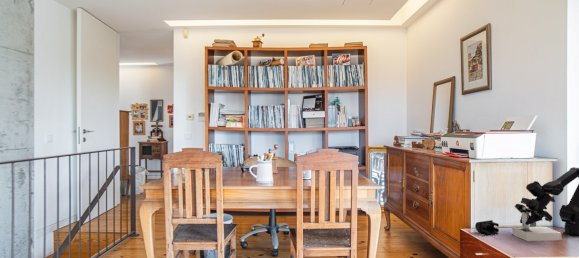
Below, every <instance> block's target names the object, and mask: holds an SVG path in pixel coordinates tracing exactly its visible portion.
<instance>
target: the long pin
mask: <svg viewBox="0 0 579 258" xmlns="http://www.w3.org/2000/svg"><path fill="white" fill-rule="evenodd" d="M529 215H530V213H528V212H522V213H521V216H522V223H521V227H522V231H524V232H529V227H530V224H529V225H526V224H525V223H526V221H527V220H528V218H529Z"/></svg>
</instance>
